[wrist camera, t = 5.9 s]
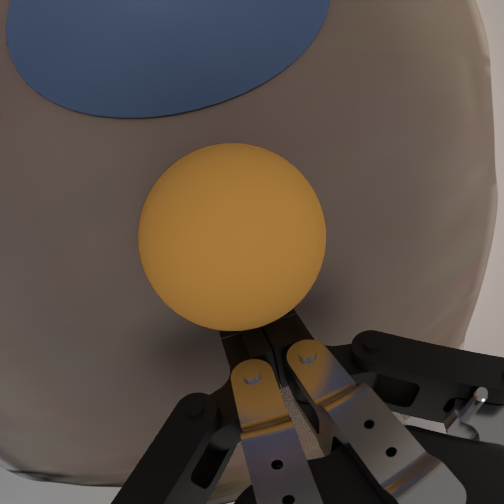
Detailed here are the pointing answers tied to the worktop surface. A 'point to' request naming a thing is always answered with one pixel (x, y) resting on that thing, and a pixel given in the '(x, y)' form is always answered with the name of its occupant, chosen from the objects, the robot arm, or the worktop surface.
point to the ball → (232, 236)
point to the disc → (155, 50)
